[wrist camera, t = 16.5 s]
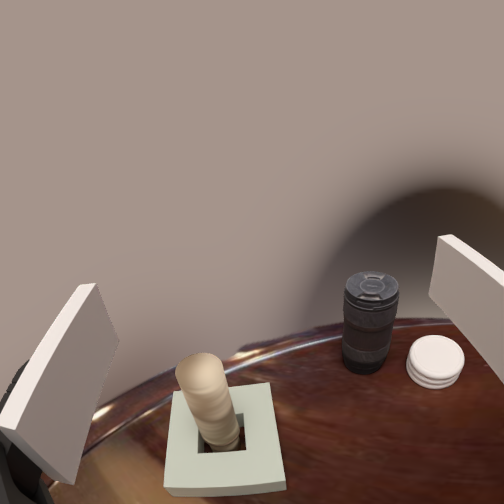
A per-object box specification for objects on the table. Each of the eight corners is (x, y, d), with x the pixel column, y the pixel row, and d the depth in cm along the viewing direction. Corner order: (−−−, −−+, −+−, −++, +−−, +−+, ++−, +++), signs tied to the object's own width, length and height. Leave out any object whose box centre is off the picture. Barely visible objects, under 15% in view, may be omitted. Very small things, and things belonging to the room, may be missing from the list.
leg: (242, 430, 38) (222, 350, 31) (245, 458, 34) (223, 385, 27) (208, 432, 38) (177, 354, 31) (208, 461, 33) (172, 388, 27)
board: (270, 396, 43) (269, 382, 42) (286, 489, 29) (285, 480, 27) (179, 405, 43) (173, 391, 41) (172, 496, 28) (163, 487, 27)
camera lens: (342, 342, 52) (346, 268, 46) (386, 345, 49) (398, 271, 43) (335, 375, 45) (341, 298, 39) (385, 379, 42) (402, 302, 36)
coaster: (402, 348, 48) (406, 333, 46) (452, 347, 45) (458, 332, 43) (407, 392, 39) (413, 377, 38) (463, 389, 36) (471, 374, 35)
